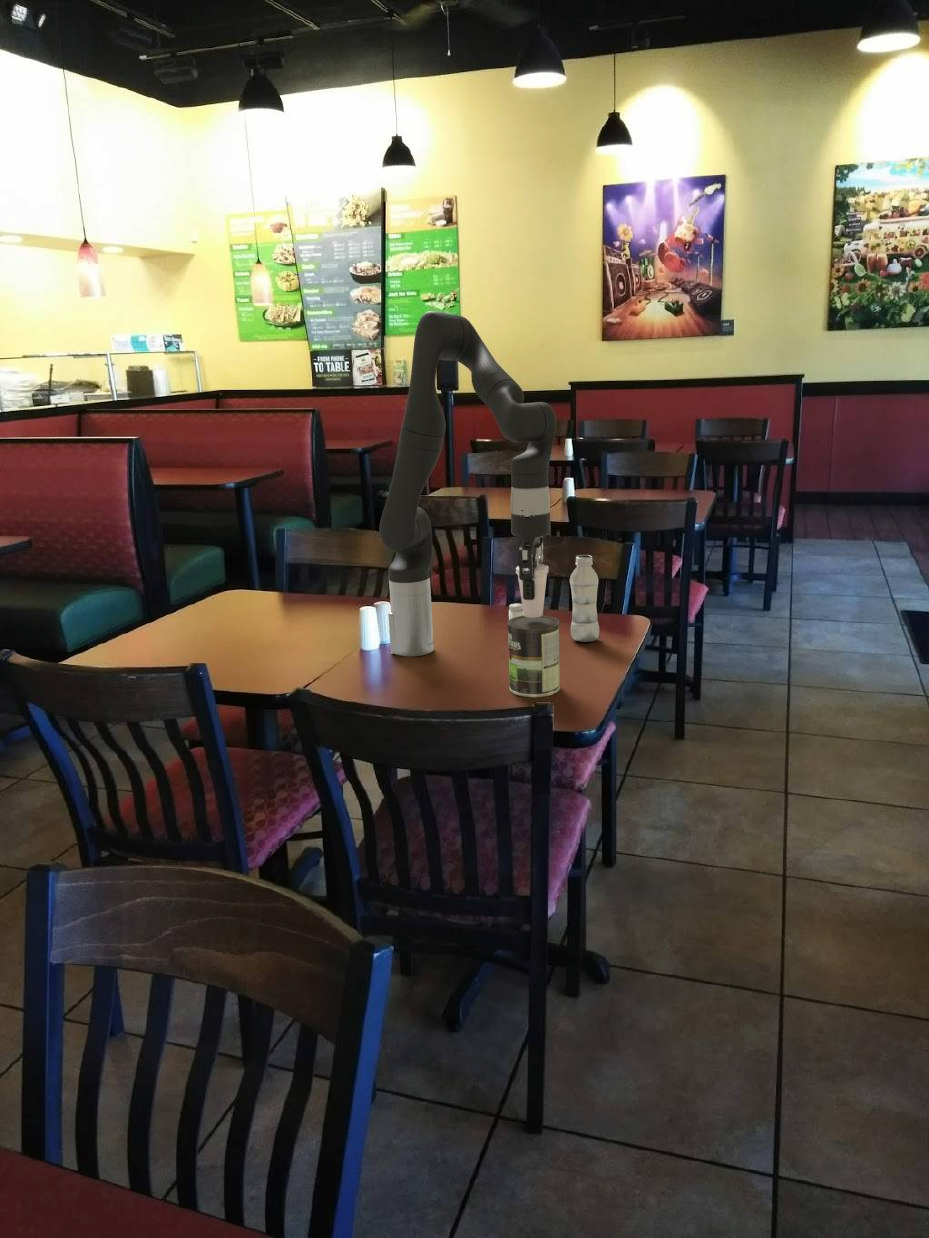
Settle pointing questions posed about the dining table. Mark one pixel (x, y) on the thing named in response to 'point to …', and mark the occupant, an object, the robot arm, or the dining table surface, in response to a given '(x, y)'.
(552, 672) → the coffee can
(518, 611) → the salt shaker
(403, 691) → the dining table surface
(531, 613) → the smoothie
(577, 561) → the plastic bottle
